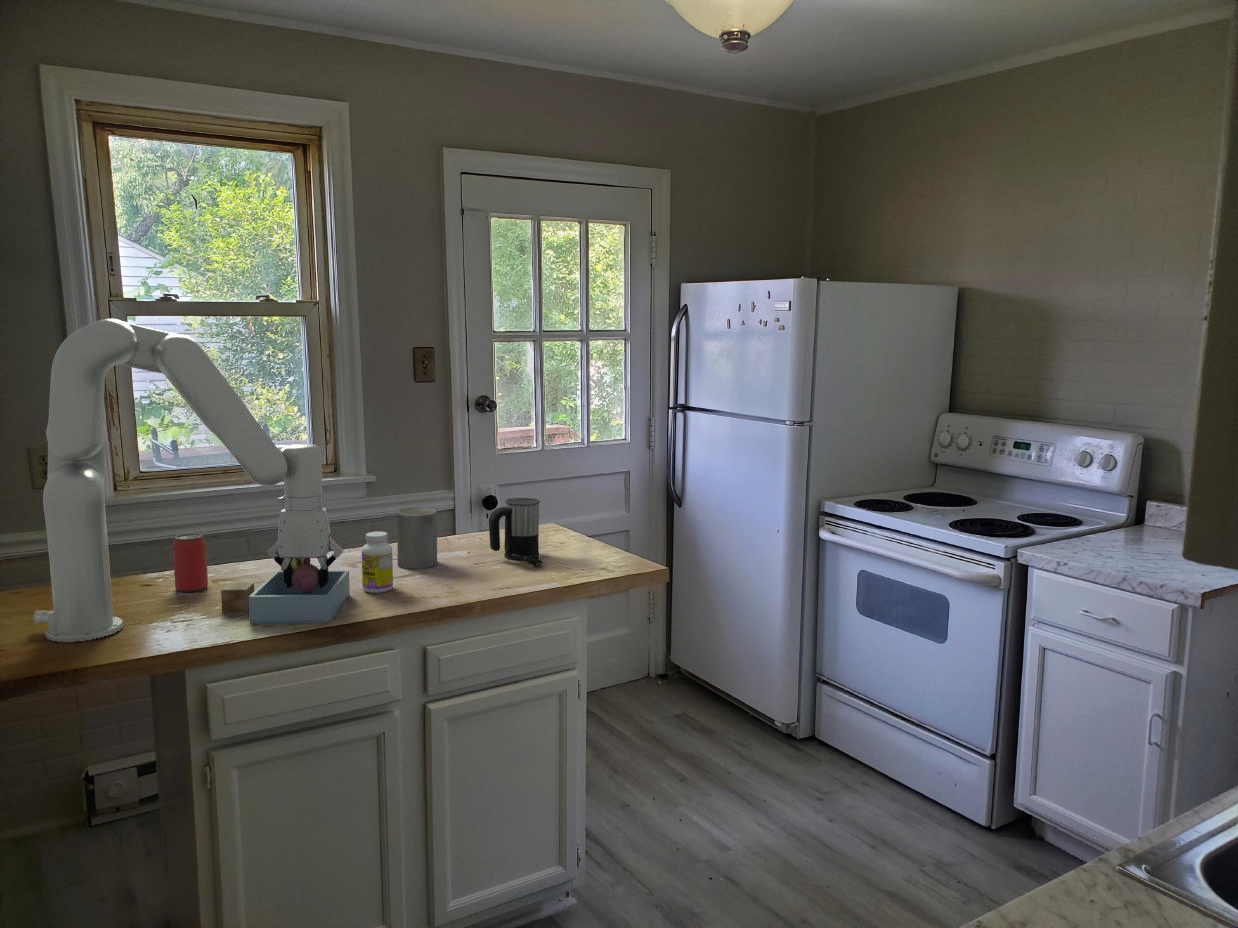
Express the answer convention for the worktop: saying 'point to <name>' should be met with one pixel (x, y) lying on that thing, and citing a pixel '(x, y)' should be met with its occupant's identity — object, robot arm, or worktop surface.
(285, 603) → the tote
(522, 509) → the milk frother
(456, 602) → the worktop surface
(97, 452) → the robot arm
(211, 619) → the worktop surface
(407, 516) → the pillar candle
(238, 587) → the walnut cube
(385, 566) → the supplement bottle
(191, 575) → the beer can
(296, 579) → the vegetable
